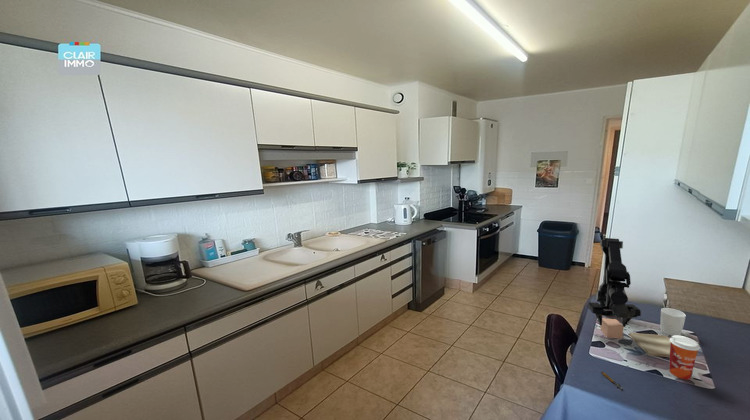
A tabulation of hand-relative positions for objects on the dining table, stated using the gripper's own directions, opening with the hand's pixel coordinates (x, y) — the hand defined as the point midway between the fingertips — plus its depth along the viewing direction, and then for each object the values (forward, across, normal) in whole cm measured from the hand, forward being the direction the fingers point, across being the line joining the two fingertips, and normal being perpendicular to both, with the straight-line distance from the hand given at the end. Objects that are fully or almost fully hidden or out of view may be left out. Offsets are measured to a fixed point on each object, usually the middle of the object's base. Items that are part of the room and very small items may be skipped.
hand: (611, 325), depth 135 cm
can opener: (+4, -15, -32) cm, 36 cm away
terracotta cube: (+4, 0, 0) cm, 4 cm away
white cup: (+4, +26, +5) cm, 27 cm away
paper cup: (+4, +11, -24) cm, 27 cm away
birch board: (+4, +14, -7) cm, 16 cm away
